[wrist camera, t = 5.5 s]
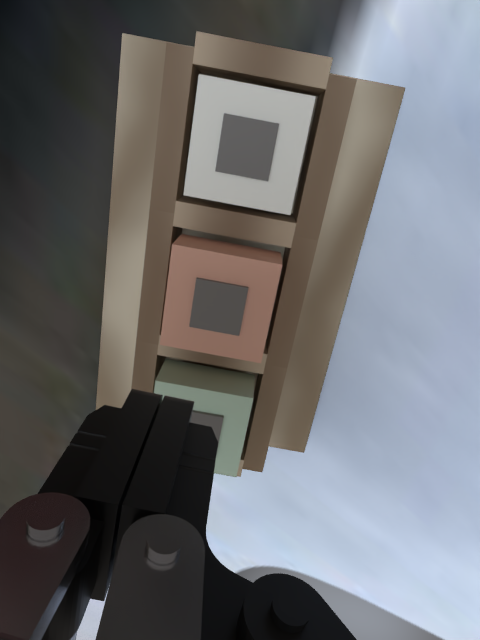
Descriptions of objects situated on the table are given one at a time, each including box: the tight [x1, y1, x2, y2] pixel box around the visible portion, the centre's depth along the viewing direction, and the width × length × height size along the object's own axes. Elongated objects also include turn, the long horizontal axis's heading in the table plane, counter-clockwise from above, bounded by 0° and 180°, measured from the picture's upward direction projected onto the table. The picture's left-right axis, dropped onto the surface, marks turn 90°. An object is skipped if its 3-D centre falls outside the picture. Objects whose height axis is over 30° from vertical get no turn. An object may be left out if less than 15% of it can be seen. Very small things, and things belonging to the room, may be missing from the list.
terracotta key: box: [160, 234, 282, 363], centre depth 22 cm, size 5×5×3 cm
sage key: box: [154, 359, 255, 477], centre depth 25 cm, size 5×5×3 cm
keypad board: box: [96, 32, 405, 477], centre depth 25 cm, size 14×22×4 cm, turn 170°
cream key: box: [183, 74, 316, 215], centre depth 21 cm, size 5×5×3 cm
